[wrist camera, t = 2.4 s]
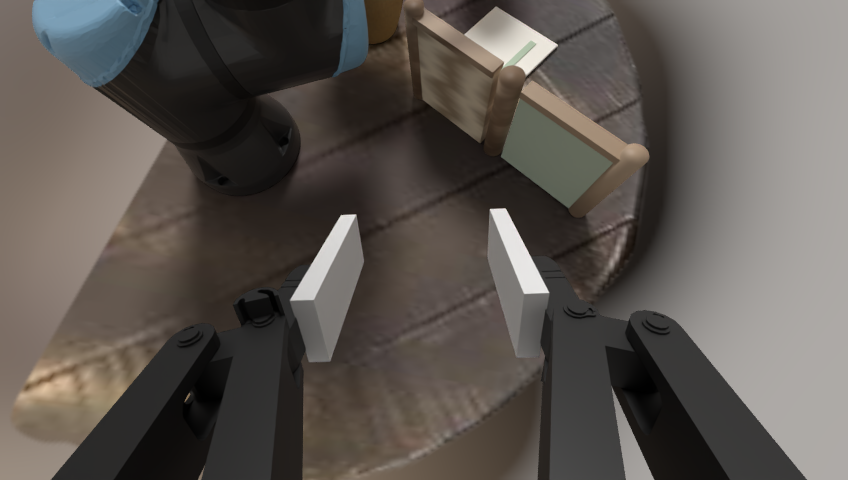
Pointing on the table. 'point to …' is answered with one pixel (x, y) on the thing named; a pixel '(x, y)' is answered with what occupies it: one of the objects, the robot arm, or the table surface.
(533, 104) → the fence gate
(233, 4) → the robot arm
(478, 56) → the fence fixed
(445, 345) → the table surface
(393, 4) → the plant pot
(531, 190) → the table surface
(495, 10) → the card
